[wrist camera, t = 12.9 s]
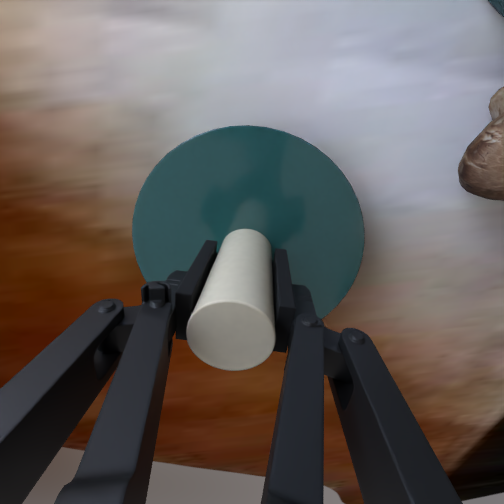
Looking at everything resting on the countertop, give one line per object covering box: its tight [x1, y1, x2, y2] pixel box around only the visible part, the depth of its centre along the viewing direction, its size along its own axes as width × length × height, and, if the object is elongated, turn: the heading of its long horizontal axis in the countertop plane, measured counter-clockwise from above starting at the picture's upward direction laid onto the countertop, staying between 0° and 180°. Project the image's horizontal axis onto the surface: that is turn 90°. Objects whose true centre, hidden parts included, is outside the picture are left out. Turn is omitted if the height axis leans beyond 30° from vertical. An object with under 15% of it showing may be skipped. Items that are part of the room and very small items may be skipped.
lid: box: [132, 125, 364, 371], centre depth 16 cm, size 17×17×10 cm
